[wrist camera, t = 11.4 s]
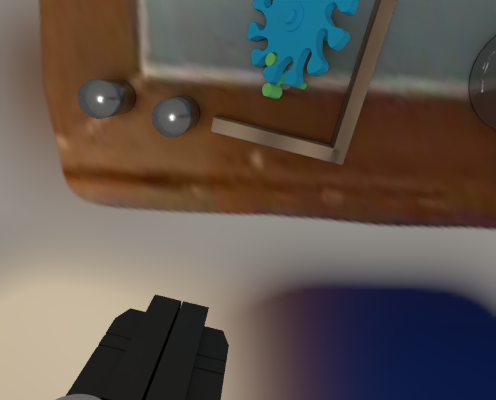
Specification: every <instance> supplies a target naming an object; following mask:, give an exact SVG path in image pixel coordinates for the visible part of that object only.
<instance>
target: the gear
mask: <svg viewBox="0 0 496 400" xmlns="http://www.w3.org/2000/svg"><path fill="white" fill-rule="evenodd" d="M358 4H359V0H273V3H272V5H271V0H254V2H253V7H254V8H255V9H257V10H259V11H261V12H263V13H264V15H265V17H266V20H267V24H266V27H265V28H263V26H262V25H259V24H257V23H255V22H252V23H250V26H249V29H248V34H247V37H248V38H249V39H252V40H254V41H259V40H261V39H264V38H267V39H268V47H267V48H266V50H264V51H262V50H260V49H254V50H253V51H252V52H251V59H252V64H253V65H255V66H258V67H263V66H264V65H265V64H266V65H267V66H268V67H266V68H265V70H264V72H263V75H264V77H265V79H266V80H267V81H268V82H269V83H266V84H264V86H263V88H262V93H263V95H264V96H267V97H271V98H275V99H278V98H280V97H281V95H282V89H283V90H287V89H289V88H290V87H291V86H292V87H295V88H299V89H302V90H304V89H305V88H306V87H307V82H306V81H303V67H304V64H305V61H306V59H307V57H308V55H309V53H310V52H312V55H311V58H310V60H309V62H308V65H307V71H308V73H309V74H311V75H314V76H319V75H322V74H323V73H325V72H327V71H328V68H329V65H328V62H327V61H326V60H325V58H324V55H323V51H322V43H323V40H325V41H327V42H328V44H329V46H330V47H332V48H334V49H336V50H338V51H340V50H341V49H343V48H344V47H345V45H346V44H347V43H348V41H349V40H350V38H351V37H350V34H349V33H348V32H346V31H345V30H343V29H341V28H337V27H336V26H335V25H334V23H333V21H332V19H331V13H332V11H333V10H334V8H336V7H338V9H339V10H340V11H341V12H343V13H345V14H346V15H348V16H351V15H354V14H355V12H356V10H357V7H358ZM271 83H272V84H271Z"/></svg>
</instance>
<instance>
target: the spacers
mask: <svg viewBox="0 0 496 400" xmlns="http://www.w3.org/2000/svg"><path fill="white" fill-rule="evenodd" d="M78 101H79V105H80V107H81V109H82V110H83V111H84V112H85V113H86V114H87V115H88V116H90V117H92V118H96V119H102V118H106V117H110V116H114V115H118V114H122V113H126V112H128V111H130V110H131V109H132V108H133V107H134V105H135V102H136V94H135V91H134V89H133V87H132V86H131V85H130V84H129V83H128V82H126V81H124V80H121V79H103V80H89V81H87V82H85V83H84V84H83V85H82V86H81V87H80V89H79V92H78ZM199 117H200V110H199V107H198V105H197V103H196V102H195V101H194V100H193V99H192V98H190V97H187V96H178V97H174V98H169V99H165V100H162V101H160V102H159V103H158V104H157V105H156V106H155V107H154V109H153V112H152V122H153V125H154V127H155V128H156V130H157V131H158V132H159V133H160V134H162V135H164V136H166V137H177V136H179V135H181V134H183V133H184V132H186V131H187V130H189V129H190V128H192V127H193V126H195V125H196V123H197V122H198V120H199Z"/></svg>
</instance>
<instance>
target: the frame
mask: <svg viewBox="0 0 496 400" xmlns="http://www.w3.org/2000/svg"><path fill="white" fill-rule="evenodd" d="M396 3H397V0H376V2H375V5H374V8H373V11H372V14H371V18H370V21H369V24H368V27H367V30H366V33H365V37H364V40H363V43H362V46H361V49H360V52H359V56H358V59H357V62H356V65H355V68H354V71H353V74H352V78H351V81H350V84H349V87H348V90H347V93H346V97H345V100H344V103H343V106H342V109H341V112H340V116H339V119H338V122H337V125H336V128H335V131H334V135H333V138H332V141H331V144H330V145H329V144H326V143H322V142H318V141H314V140H310V139H306V138H302V137H298V136H294V135H291V134H287V133H283V132H279V131H275V130H271V129H267V128H263V127H259V126H255V125H252V124H248V123H244V122H240V121H236V120H232V119H228V118H224V117H220V116H215V117H214V118H213V123H212V128H211V131H212V132H216V133H219V134H223V135H227V136H231V137H235V138H239V139H243V140H247V141H251V142H255V143H259V144H263V145H266V146H270V147H274V148H278V149H282V150H286V151H290V152H294V153H298V154H302V155H306V156H309V157H313V158H317V159H321V160H325V161H329V162H333V163H337V164H341V165H343V162H344V159H345V156H346V153H347V150H348V147H349V144H350V141H351V138H352V135H353V132H354V129H355V126H356V123H357V120H358V117H359V114H360V111H361V108H362V105H363V102H364V99H365V96H366V93H367V90H368V87H369V84H370V81H371V78H372V75H373V72H374V69H375V66H376V63H377V60H378V57H379V54H380V51H381V48H382V45H383V42H384V39H385V36H386V33H387V30H388V27H389V24H390V21H391V18H392V15H393V12H394V9H395V6H396Z"/></svg>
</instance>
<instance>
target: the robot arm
mask: <svg viewBox="0 0 496 400" xmlns="http://www.w3.org/2000/svg"><path fill="white" fill-rule="evenodd" d="M469 91H470V100H471V102H472V105H473V108H474V110H475V112H476V113H477V115H478V116H479V118H480V119H481V120H482V121H484V122H485V123H486V124H487V125H488V126H490V127H492V128H494V129H496V36H495V37H494V38H493V39H492V40H491V41H490V42H489V43H488V44H487V45H486V46H485V48H484V49H483V50H482V51H481V53H480V54H479V56H478V58H477V60H476V62H475V64H474V66H473V70H472V73H471V76H470V85H469ZM180 307H181V308H180ZM208 309H209V308H208V307H205V306H200V305H196V304H192V303H188V302H183V303H182V305H181V301H179V300H175V299H171V298H167V297H163V296H159V295H155V296H154V297H153V299H152V301H151V303H150V305H149V307H148V309H147V311H146V312H143V311H139V310H135V309H129V310H127V311H126V312H124V313H123V314H121V315H120V316H118V317H116V318H115V320H114V321H113V323H112V324H111V326H110V327H109V329H108V330H107V332H106V335H105V336H104V337H103V338H102V340H101V341H100V343H99V345H98V347H97V348H96V349H95V351H94V353H93V354H92V356H91V357H90V359H89V360H88V362H87V363H86V365H85V367H84V368H83V370H82V371H81V373H80V374H79V376H78V378H77V379H76V381H75V382H74V384H73V385H72V387H71V389H70V390H69V392H68V393H67V395H66V396H64V397H61V398H59V399H56V400H220V399H221V393H222V386H223V379H224V373H225V366H226V360H227V353H228V346H229V345H228V343H227V340H226V338H225V335H224V332H223V331H222V330H218V329H213V328H209V327H205V326H204V325H205V321H206V317H207V313H208Z"/></svg>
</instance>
